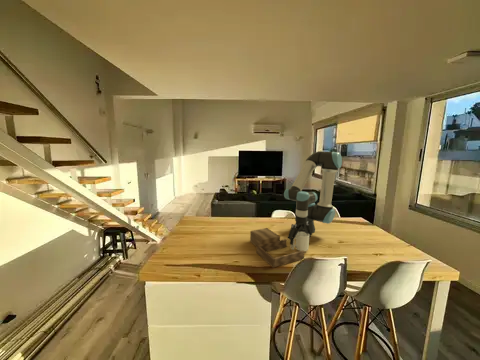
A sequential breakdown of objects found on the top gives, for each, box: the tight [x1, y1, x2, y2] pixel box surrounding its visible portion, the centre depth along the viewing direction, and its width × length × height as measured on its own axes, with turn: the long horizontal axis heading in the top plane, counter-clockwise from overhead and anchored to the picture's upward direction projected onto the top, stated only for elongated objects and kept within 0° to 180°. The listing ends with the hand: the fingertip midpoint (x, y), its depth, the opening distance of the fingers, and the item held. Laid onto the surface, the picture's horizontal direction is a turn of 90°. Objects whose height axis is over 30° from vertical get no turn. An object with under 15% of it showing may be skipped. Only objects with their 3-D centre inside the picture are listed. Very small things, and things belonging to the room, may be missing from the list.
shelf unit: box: [249, 227, 306, 268], centre depth 143 cm, size 23×34×8 cm
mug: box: [294, 232, 310, 252], centre depth 143 cm, size 12×8×10 cm
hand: (299, 247), depth 143 cm, fingers closed on mug, 11 cm apart
